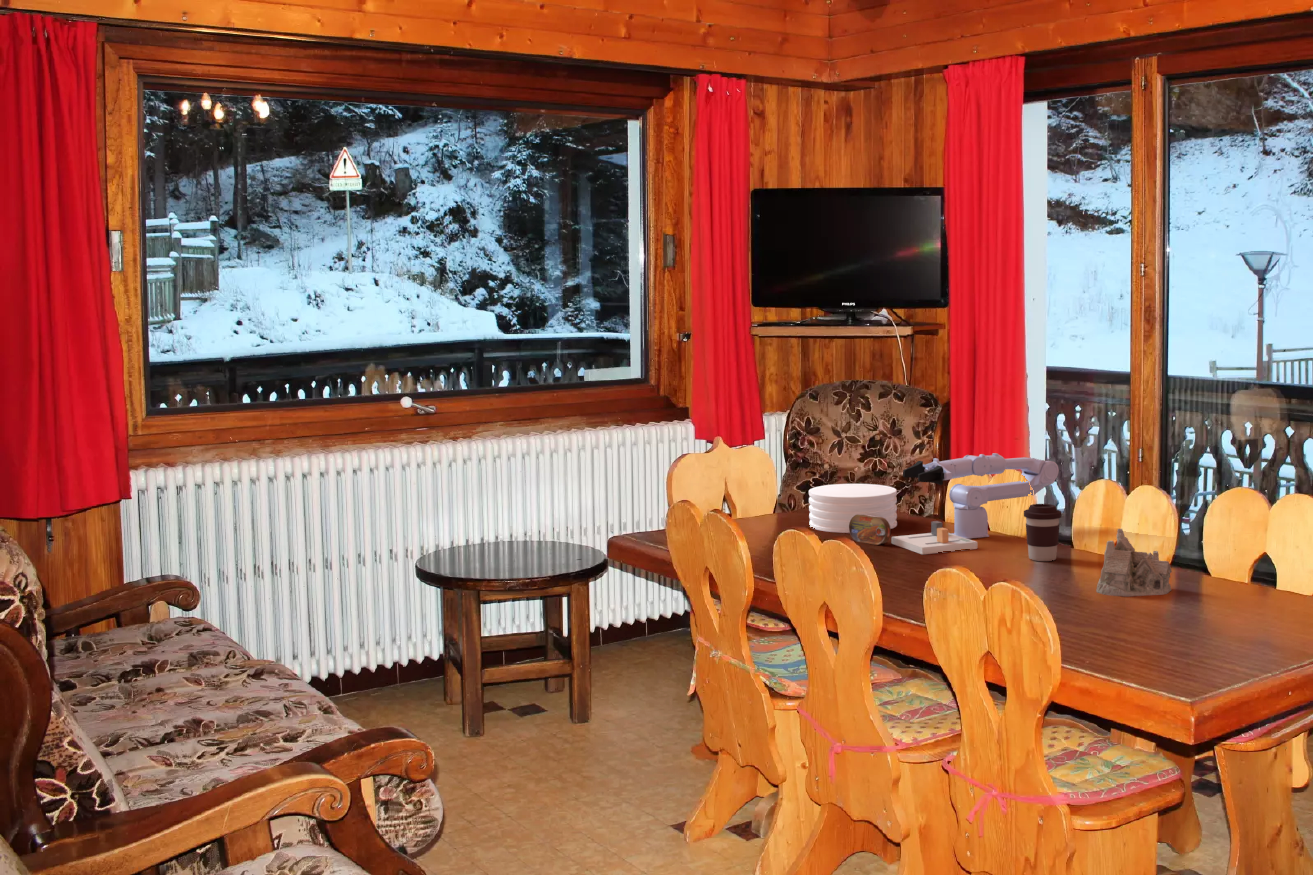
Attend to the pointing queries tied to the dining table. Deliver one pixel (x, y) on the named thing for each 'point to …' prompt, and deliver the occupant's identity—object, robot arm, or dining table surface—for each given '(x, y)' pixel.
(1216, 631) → the dining table surface
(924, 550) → the board
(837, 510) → the plate stack
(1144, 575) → the ceramic cottage
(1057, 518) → the coffee cup
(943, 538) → the switch
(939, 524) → the gray rectangular block
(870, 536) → the tin
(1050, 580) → the dining table surface
